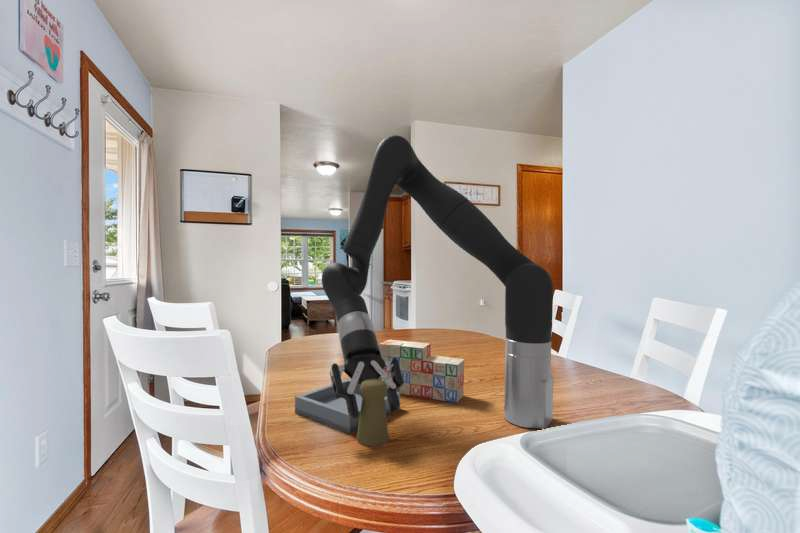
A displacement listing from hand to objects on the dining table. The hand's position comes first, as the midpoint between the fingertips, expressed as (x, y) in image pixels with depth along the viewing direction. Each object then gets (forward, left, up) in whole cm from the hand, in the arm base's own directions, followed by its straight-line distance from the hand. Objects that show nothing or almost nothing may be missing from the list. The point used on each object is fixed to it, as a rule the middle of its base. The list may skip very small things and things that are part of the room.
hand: (375, 413), depth 70 cm
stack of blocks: (+9, -28, -6) cm, 30 cm away
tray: (+14, -8, -5) cm, 17 cm away
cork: (+1, -1, -5) cm, 6 cm away
